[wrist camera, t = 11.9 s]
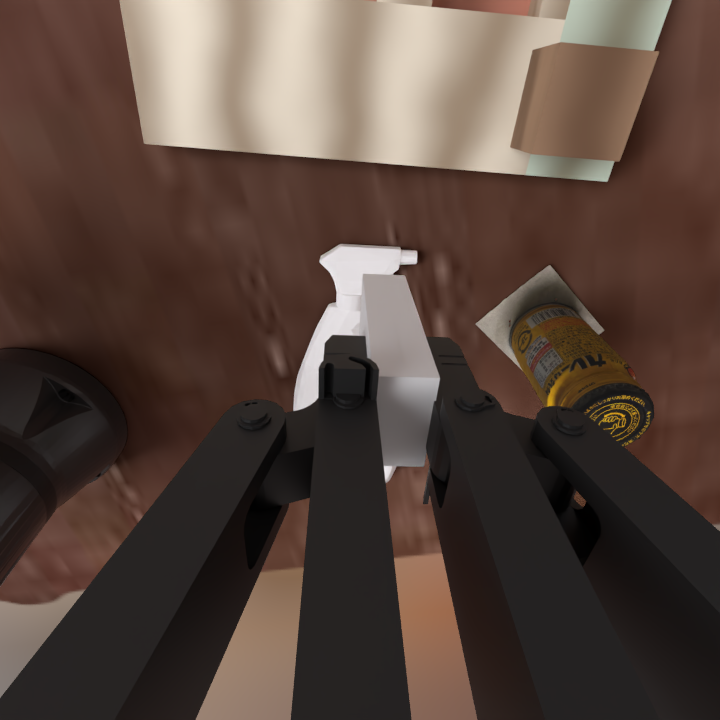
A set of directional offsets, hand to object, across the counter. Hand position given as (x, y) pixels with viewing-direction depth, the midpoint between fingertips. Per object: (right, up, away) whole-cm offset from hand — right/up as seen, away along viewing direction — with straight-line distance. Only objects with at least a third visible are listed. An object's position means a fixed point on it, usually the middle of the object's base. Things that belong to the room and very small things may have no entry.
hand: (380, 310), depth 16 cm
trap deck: (+1, +18, +10) cm, 21 cm away
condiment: (+15, +1, +21) cm, 26 cm away
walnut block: (+11, +14, +10) cm, 20 cm away
